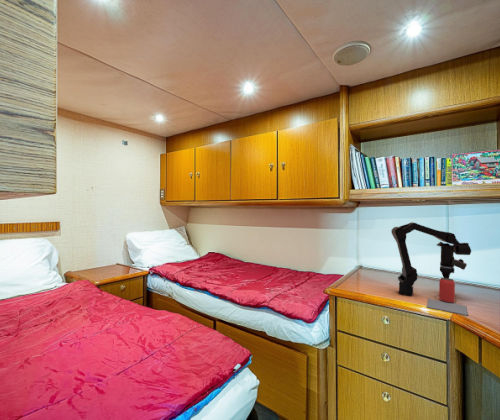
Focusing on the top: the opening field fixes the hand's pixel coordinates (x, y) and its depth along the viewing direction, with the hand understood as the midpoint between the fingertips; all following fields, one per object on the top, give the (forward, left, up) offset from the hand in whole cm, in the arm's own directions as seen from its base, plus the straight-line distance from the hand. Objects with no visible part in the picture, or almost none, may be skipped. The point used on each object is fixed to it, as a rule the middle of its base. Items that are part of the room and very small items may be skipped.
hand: (446, 281), depth 144 cm
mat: (0, -19, -8) cm, 21 cm away
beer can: (0, -10, -8) cm, 13 cm away
